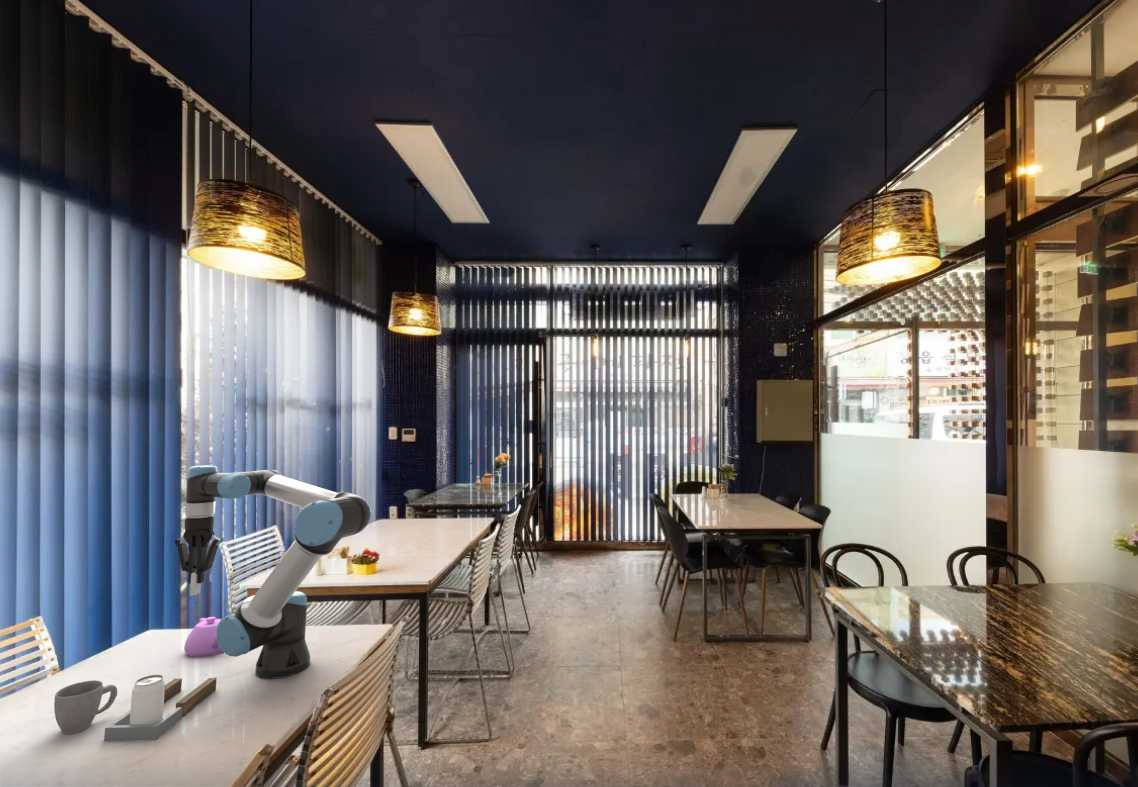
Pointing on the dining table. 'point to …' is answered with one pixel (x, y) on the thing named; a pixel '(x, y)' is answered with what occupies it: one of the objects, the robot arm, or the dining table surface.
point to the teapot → (203, 638)
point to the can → (147, 700)
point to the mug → (80, 705)
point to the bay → (140, 728)
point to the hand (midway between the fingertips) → (195, 594)
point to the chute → (193, 697)
